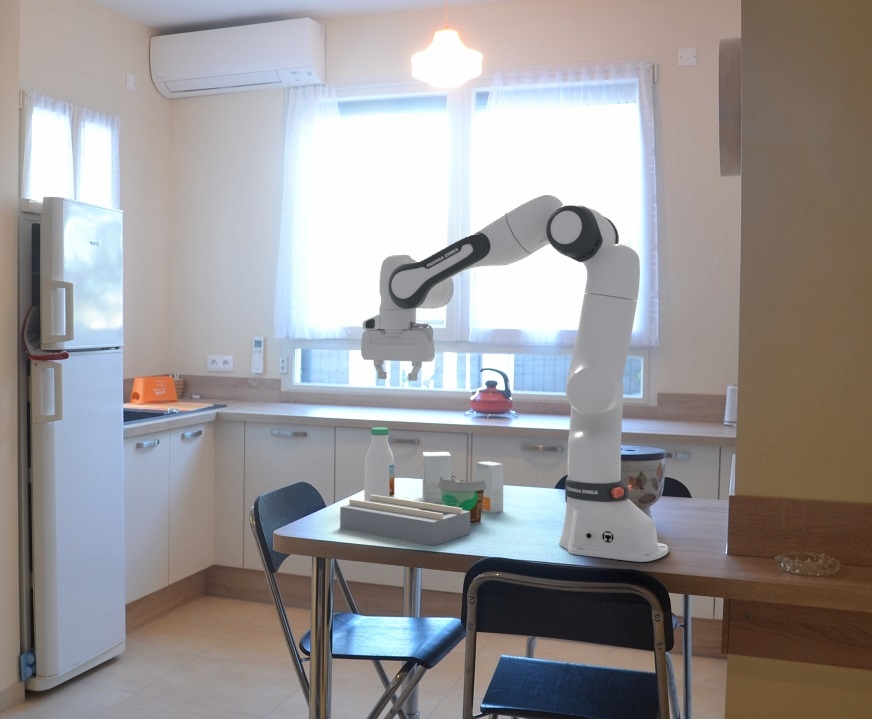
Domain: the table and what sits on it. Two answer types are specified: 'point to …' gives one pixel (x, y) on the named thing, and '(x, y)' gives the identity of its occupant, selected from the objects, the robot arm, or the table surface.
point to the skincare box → (491, 485)
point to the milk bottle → (379, 466)
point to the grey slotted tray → (405, 519)
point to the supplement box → (435, 474)
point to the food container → (463, 496)
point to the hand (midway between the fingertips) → (397, 379)
